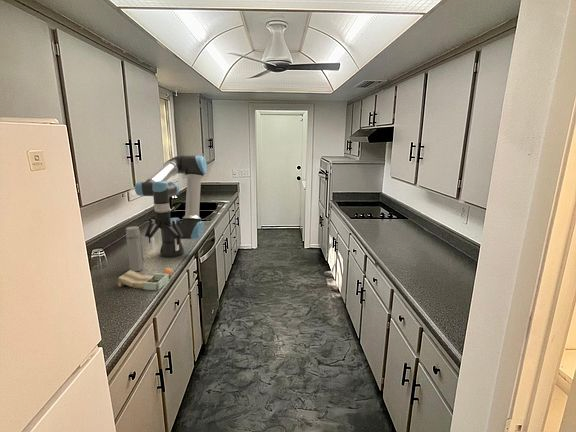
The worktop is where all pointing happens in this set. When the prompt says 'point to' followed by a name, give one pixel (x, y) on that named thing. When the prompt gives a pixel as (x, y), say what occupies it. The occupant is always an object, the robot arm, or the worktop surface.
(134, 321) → the worktop surface
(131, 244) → the water bottle
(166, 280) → the tray
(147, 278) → the ramp lane
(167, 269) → the ball
